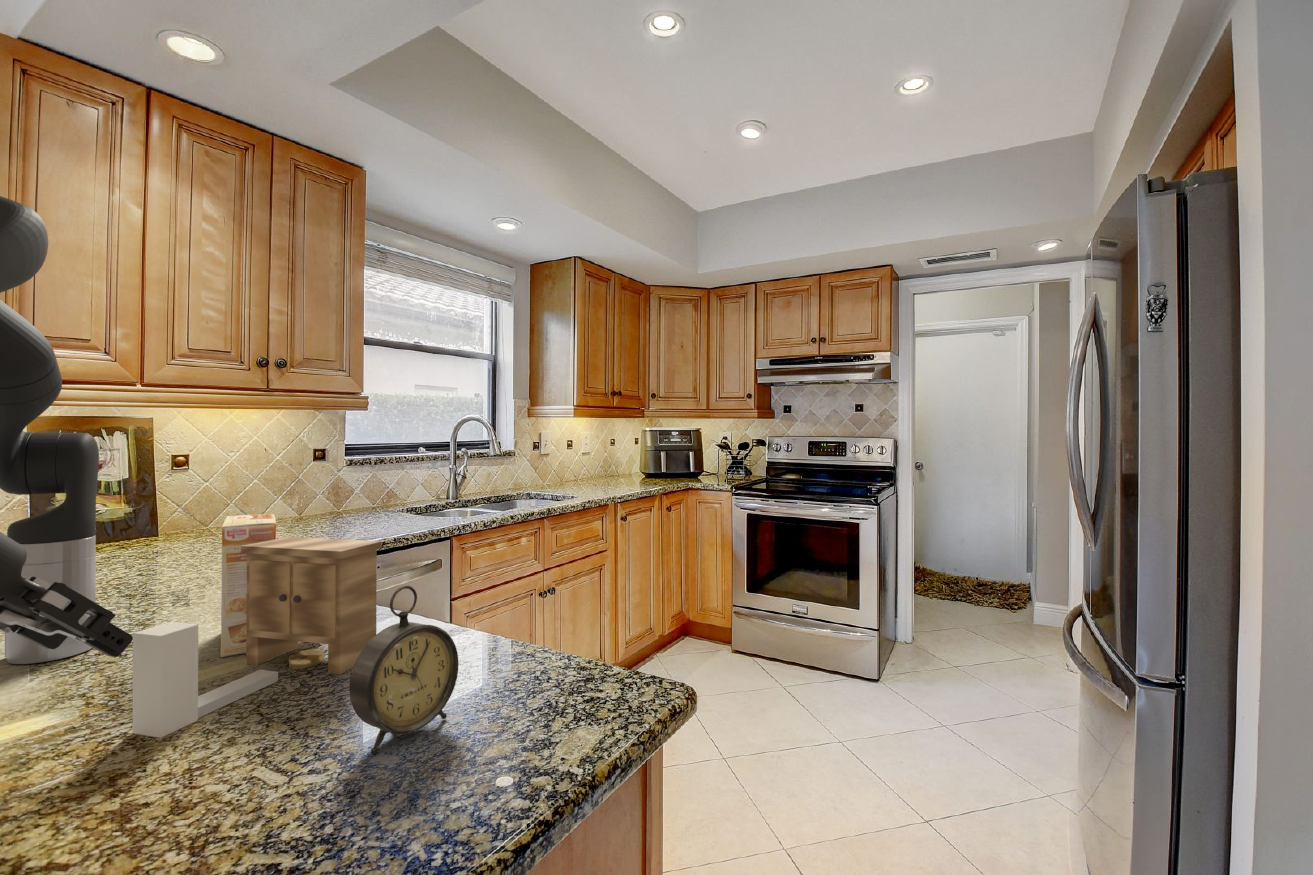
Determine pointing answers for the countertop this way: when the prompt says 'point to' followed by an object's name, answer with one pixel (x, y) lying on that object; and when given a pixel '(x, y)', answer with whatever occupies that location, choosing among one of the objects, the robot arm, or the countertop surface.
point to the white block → (177, 681)
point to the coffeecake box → (239, 575)
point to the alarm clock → (403, 676)
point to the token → (306, 658)
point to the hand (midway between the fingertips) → (92, 643)
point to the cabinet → (311, 597)
